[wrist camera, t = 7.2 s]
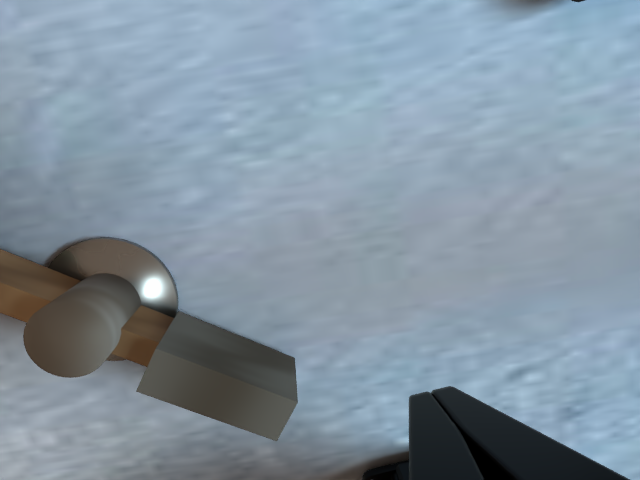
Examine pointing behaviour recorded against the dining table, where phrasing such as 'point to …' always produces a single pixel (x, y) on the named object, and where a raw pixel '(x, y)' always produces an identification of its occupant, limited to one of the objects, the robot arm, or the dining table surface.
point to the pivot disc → (122, 271)
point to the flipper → (147, 346)
